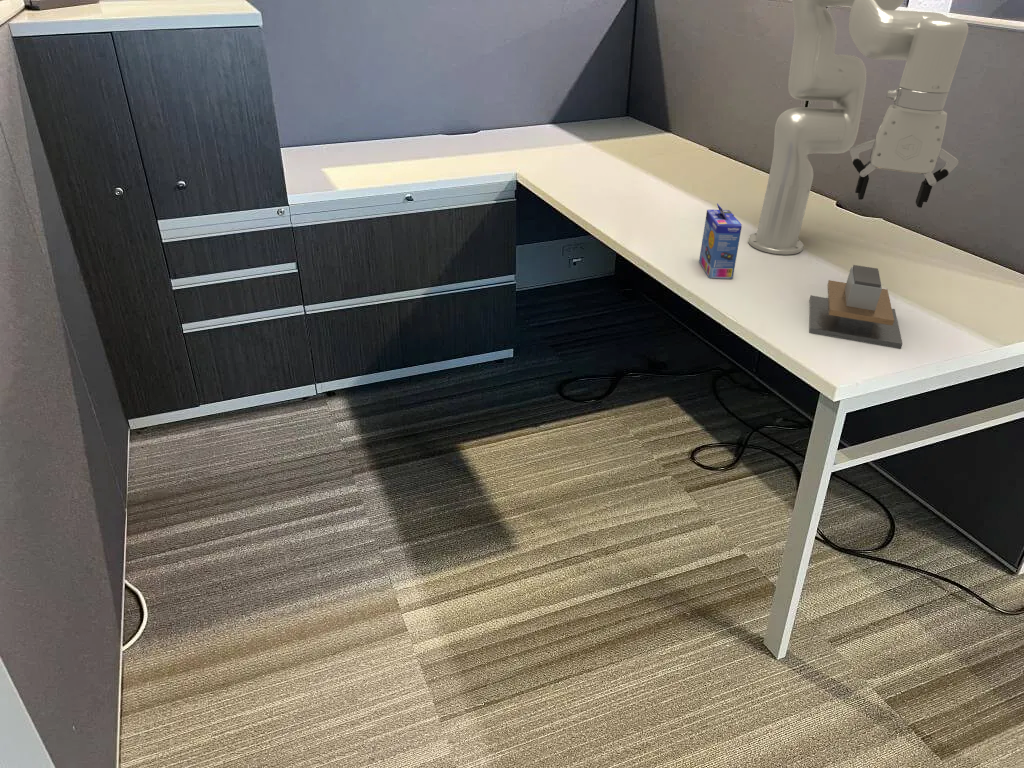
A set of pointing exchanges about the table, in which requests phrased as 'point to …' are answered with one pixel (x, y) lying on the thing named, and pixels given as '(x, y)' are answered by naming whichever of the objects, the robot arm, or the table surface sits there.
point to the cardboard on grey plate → (854, 318)
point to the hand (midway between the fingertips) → (889, 201)
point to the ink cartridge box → (720, 243)
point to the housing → (863, 287)
